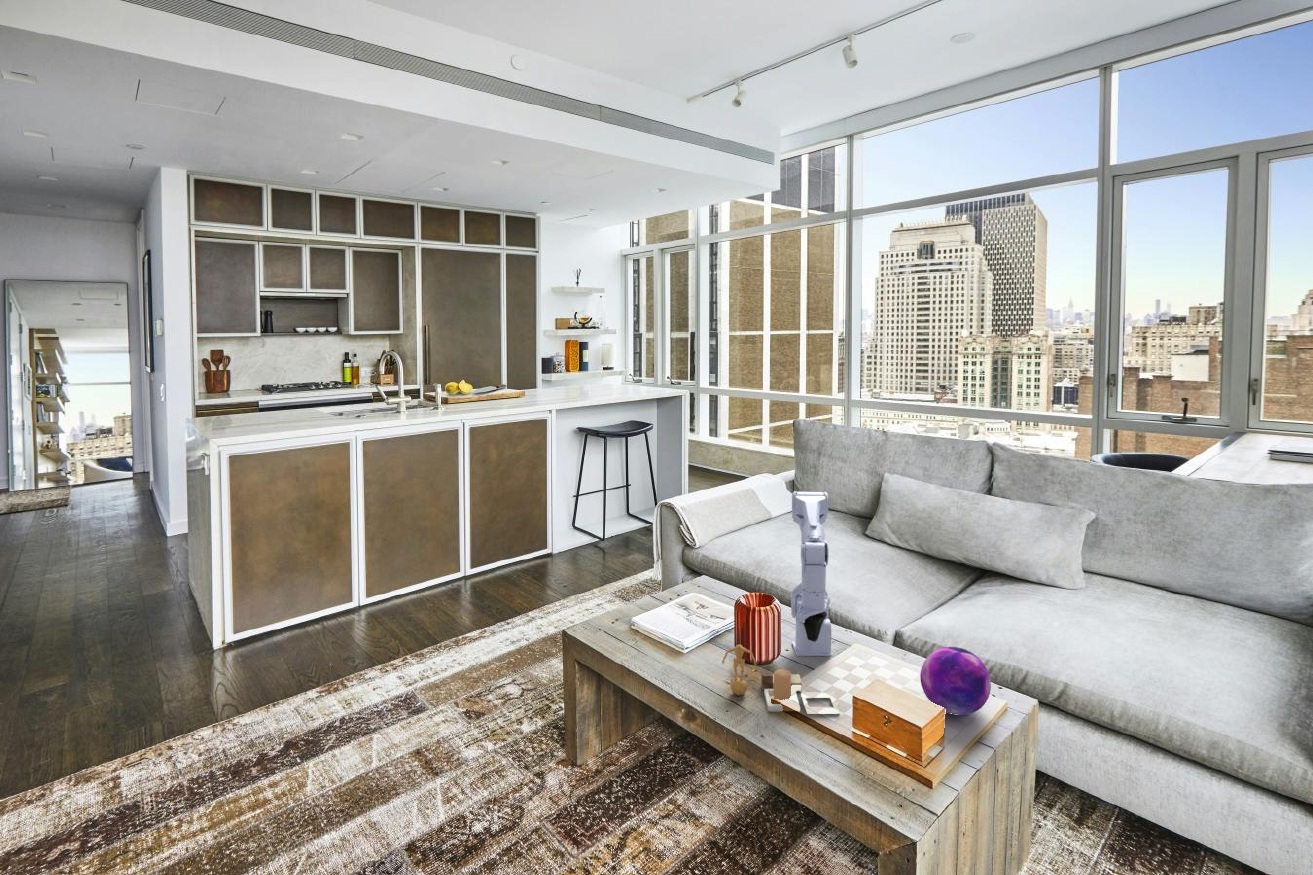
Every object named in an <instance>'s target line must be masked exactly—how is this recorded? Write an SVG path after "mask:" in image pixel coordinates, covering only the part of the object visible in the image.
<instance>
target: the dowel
mask: <svg viewBox="0 0 1313 875" xmlns="http://www.w3.org/2000/svg"><path fill="white" fill-rule="evenodd" d="M791 674H792V673H791V672H790V671H789V670H786V669H783V668H781V669H776V670H775V671H774V672H773V675H774V699H779V700H783V699H784V700H785V699H789V698H790V696H791Z"/></svg>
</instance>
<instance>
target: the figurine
mask: <svg viewBox="0 0 1313 875" xmlns="http://www.w3.org/2000/svg"><path fill="white" fill-rule="evenodd" d="M732 652H734V655H735V657H736V658H734V659H733V670H734V673H735V675H734V679H733V680H732V681H731V683H730V689H731V690H730V691H731V692H732V693H733V694H734V695H736V696H742V695H744V694H746V692H747V690H748V684H747V682H746V680H744V672H745V671H744V670H745V668H746V667H745V661H746V660H745V658H743V656H744V652H745V653H748V654H750V656H751V658H752V660H753V664H754V667H756V666H757V662H756V659H755V657H754V653H753V652H752V651H751V650H749V649H747V648H745V647H743V645H742V644H736V646H734V647H732V648H730V649H728V650H726V652H725V654H724V656H723V659H722V661H721V664H722V665H724V663H725V661H726V660H725V659H727V656H728V654H729V653H732ZM738 667H740V668H741V670H740V672H741V673H740V677H738V670H737V669H738Z"/></svg>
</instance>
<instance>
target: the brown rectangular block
mask: <svg viewBox="0 0 1313 875" xmlns="http://www.w3.org/2000/svg"><path fill="white" fill-rule="evenodd" d="M773 675H774V673H773V672H772V670H761V684H760V685H761V689H762V692H764V689H773Z"/></svg>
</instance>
